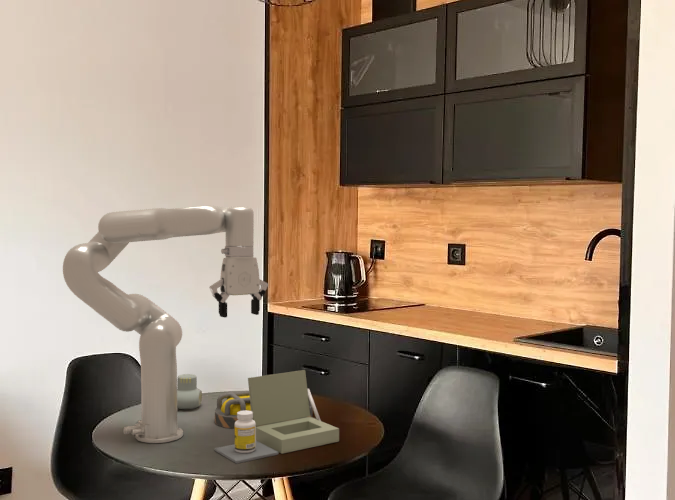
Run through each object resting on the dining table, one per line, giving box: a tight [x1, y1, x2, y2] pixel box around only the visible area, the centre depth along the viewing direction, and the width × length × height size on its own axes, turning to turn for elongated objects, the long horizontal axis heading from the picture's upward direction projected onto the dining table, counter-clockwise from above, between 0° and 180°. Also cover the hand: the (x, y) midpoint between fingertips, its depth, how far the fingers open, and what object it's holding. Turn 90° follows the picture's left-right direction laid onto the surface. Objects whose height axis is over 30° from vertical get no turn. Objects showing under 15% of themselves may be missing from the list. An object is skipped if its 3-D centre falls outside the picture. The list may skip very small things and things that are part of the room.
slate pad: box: [213, 441, 279, 464], centre depth 189 cm, size 12×12×1 cm
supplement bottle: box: [233, 410, 256, 453], centre depth 188 cm, size 5×5×10 cm
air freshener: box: [177, 373, 203, 410], centre depth 231 cm, size 11×8×10 cm
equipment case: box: [247, 369, 340, 455], centre depth 200 cm, size 19×18×16 cm
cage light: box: [214, 390, 314, 429], centre depth 220 cm, size 15×8×30 cm
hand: (239, 315), depth 200 cm, fingers open, 9 cm apart
